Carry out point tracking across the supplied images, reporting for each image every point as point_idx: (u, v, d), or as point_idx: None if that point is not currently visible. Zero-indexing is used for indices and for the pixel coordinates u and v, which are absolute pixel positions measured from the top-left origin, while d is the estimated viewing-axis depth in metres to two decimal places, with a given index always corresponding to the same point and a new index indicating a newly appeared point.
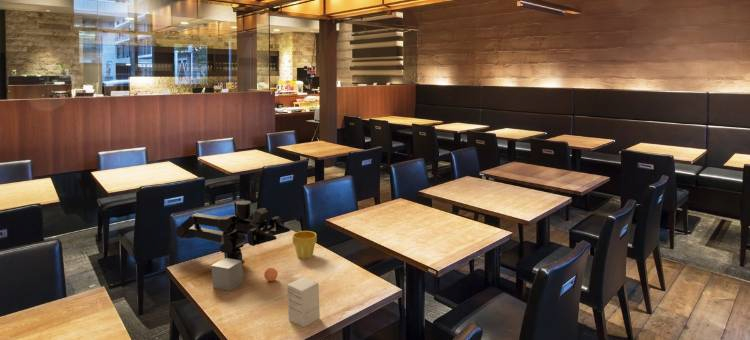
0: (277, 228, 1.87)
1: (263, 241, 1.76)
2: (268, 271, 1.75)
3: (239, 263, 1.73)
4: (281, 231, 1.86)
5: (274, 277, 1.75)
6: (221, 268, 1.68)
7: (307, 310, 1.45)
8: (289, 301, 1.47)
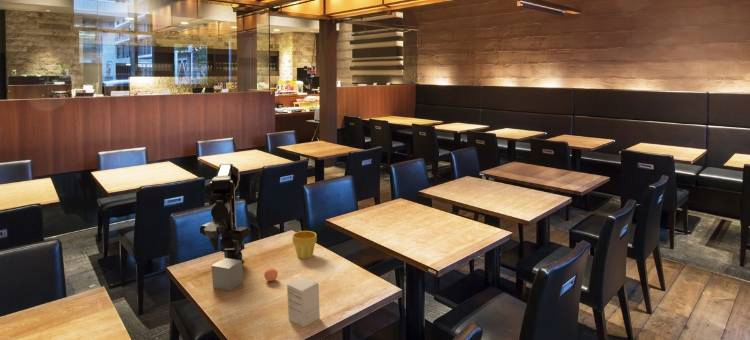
0: None
1: None
2: (268, 271, 1.75)
3: (239, 263, 1.73)
4: None
5: (274, 277, 1.75)
6: (221, 268, 1.68)
7: (307, 310, 1.45)
8: (289, 301, 1.47)
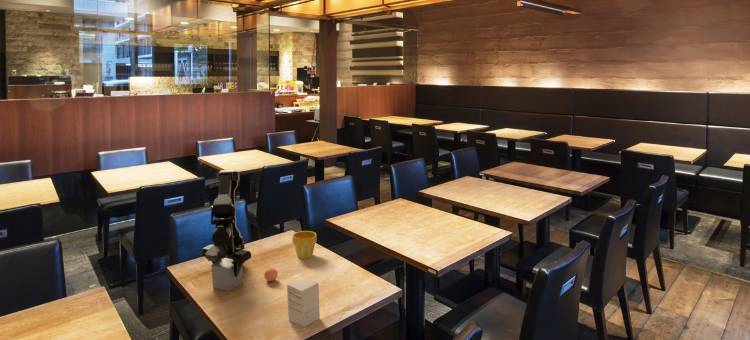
0: None
1: None
2: (268, 271, 1.75)
3: None
4: None
5: (274, 277, 1.75)
6: (221, 268, 1.68)
7: (307, 310, 1.45)
8: (289, 301, 1.47)
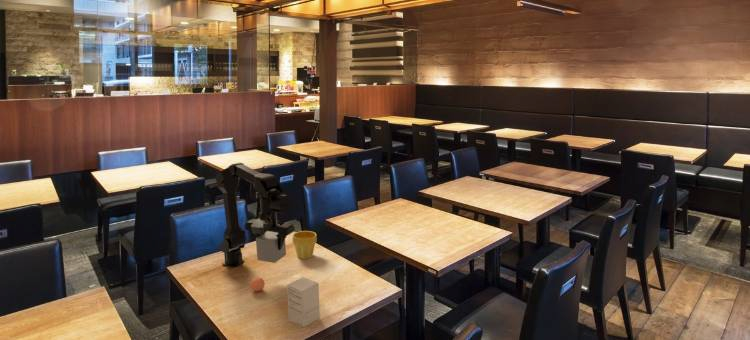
0: None
1: None
2: None
3: None
4: None
5: (263, 282, 1.68)
6: (266, 240, 1.70)
7: (307, 310, 1.45)
8: (289, 301, 1.47)
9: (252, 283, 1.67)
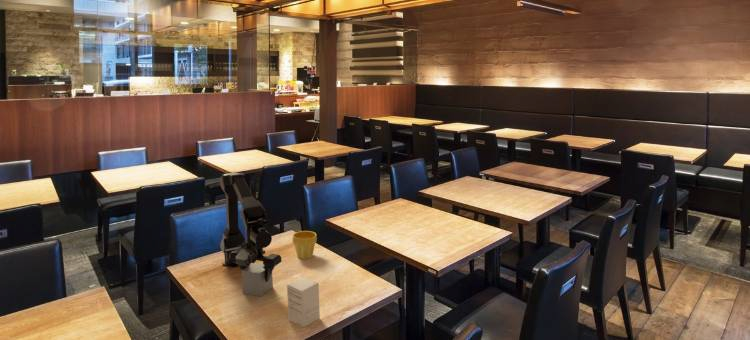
0: None
1: None
2: None
3: None
4: None
5: None
6: (252, 273, 1.64)
7: (307, 310, 1.45)
8: (289, 301, 1.47)
9: None
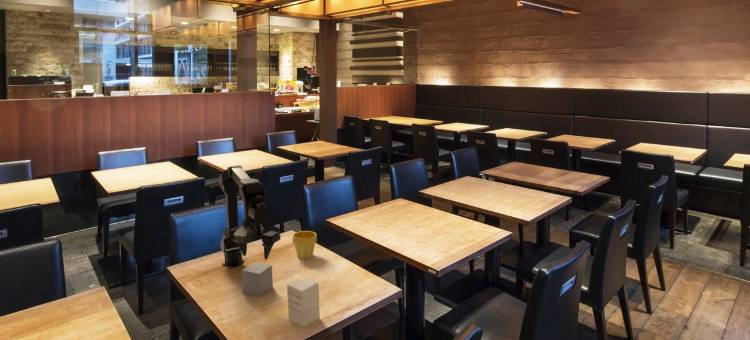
0: None
1: None
2: None
3: (269, 268, 1.68)
4: None
5: None
6: (252, 273, 1.64)
7: (307, 310, 1.45)
8: (289, 301, 1.47)
9: None
